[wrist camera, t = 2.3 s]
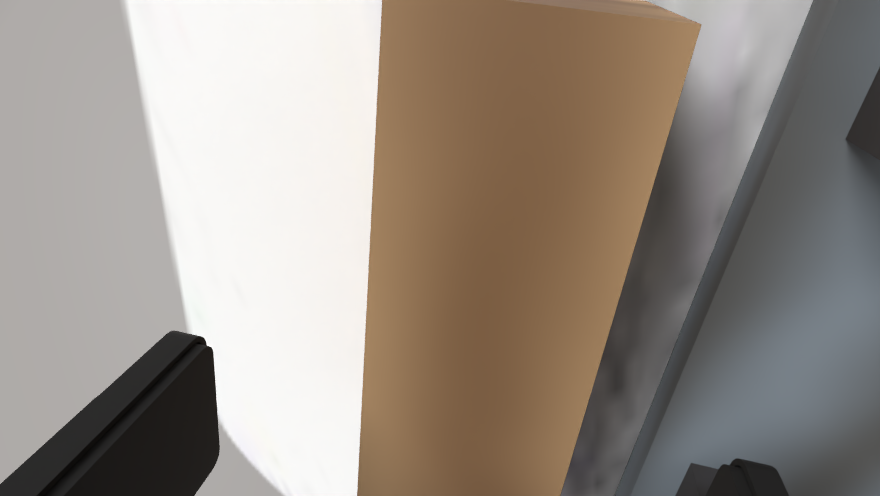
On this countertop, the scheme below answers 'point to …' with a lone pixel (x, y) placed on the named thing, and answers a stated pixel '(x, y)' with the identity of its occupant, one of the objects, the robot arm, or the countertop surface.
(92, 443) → the robot arm
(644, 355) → the countertop surface
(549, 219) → the tan brown block
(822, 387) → the dark grey holder
